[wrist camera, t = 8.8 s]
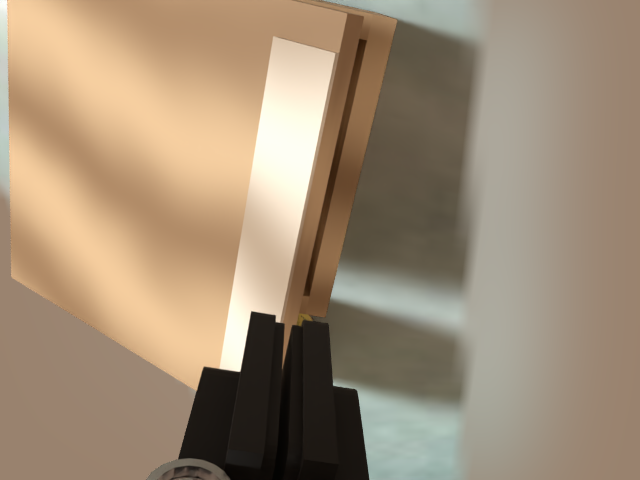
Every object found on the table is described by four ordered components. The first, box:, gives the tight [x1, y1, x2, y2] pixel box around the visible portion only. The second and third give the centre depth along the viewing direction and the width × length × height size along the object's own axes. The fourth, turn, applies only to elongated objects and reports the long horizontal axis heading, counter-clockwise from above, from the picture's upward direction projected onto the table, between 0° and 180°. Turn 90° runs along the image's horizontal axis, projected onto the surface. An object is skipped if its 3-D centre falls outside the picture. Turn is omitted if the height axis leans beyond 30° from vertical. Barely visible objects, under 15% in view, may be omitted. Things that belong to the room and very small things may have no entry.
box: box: [297, 0, 397, 317], centre depth 28 cm, size 14×14×8 cm
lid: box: [7, 0, 364, 391], centre depth 20 cm, size 14×14×1 cm
